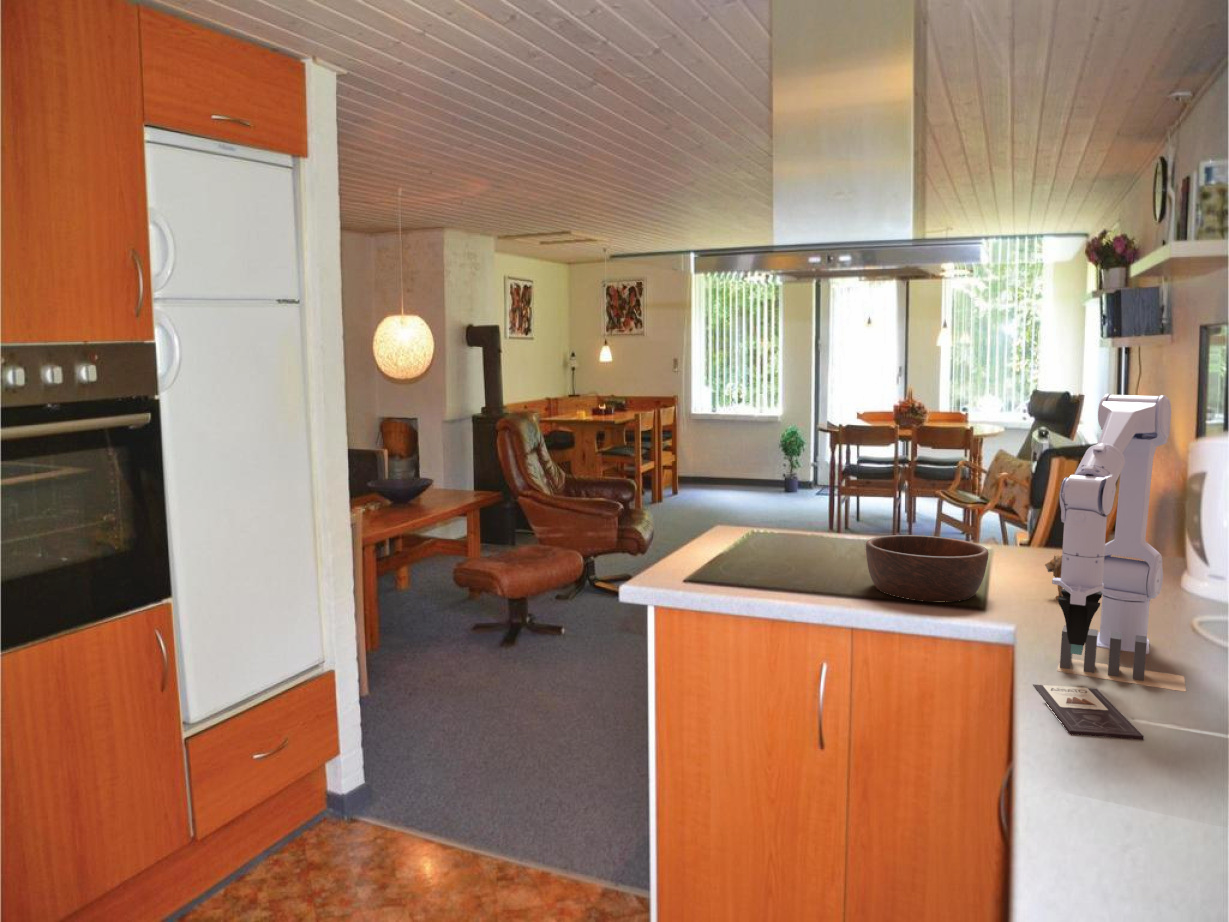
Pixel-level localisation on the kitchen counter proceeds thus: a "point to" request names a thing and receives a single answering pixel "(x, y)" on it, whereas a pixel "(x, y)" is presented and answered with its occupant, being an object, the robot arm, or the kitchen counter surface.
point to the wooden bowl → (926, 566)
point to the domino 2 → (1076, 649)
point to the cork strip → (1129, 676)
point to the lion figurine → (1056, 570)
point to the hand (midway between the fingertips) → (1077, 640)
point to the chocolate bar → (1087, 712)
